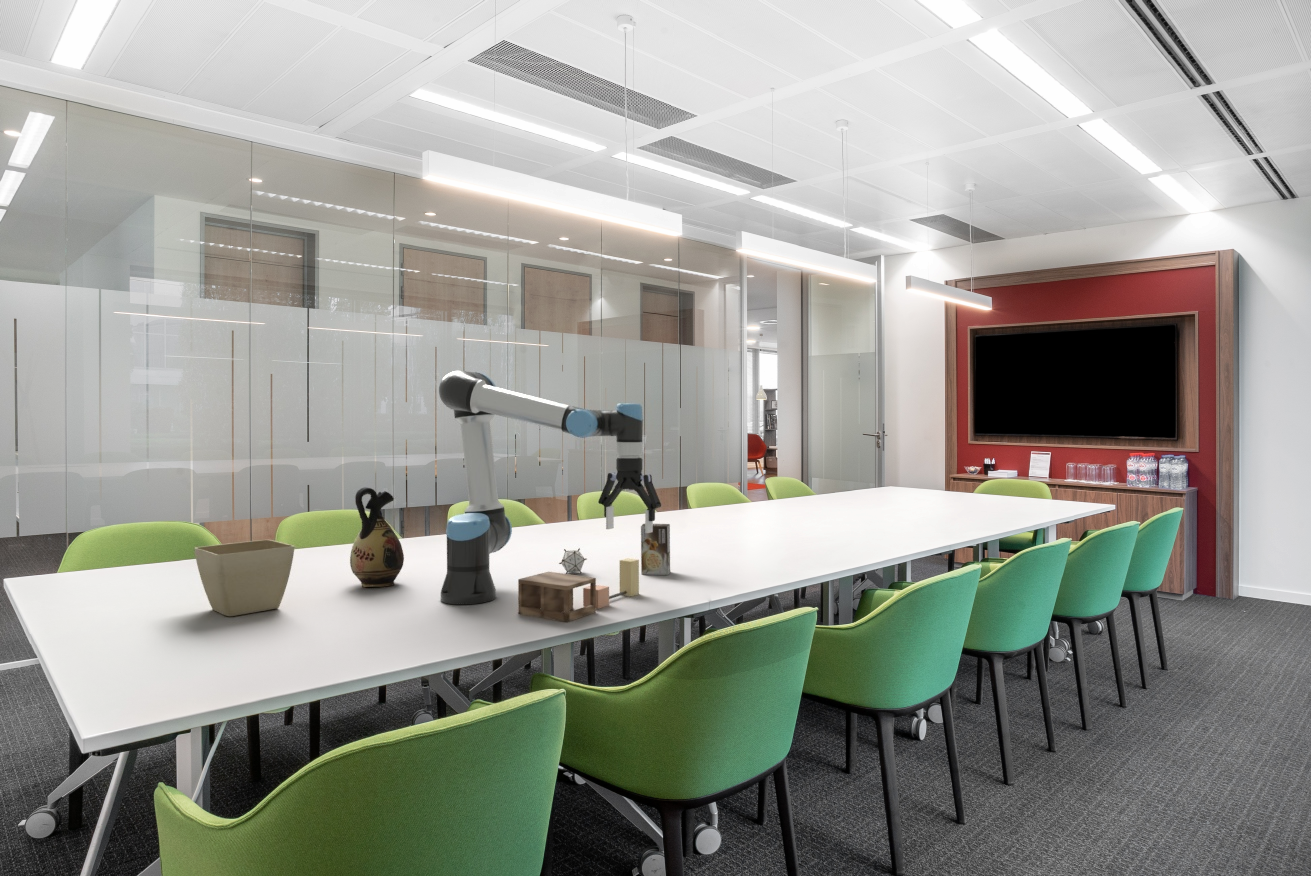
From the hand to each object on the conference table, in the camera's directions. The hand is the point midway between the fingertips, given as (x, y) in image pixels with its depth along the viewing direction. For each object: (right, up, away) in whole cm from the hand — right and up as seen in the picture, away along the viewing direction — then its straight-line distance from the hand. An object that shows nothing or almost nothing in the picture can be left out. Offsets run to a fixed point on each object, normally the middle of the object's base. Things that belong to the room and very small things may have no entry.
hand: (629, 530), depth 222 cm
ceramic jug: (-78, -18, +12) cm, 81 cm away
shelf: (-18, -19, -21) cm, 34 cm away
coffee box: (+8, -18, +32) cm, 37 cm away
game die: (-20, -18, +31) cm, 41 cm away
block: (-4, -19, -7) cm, 20 cm away
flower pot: (-101, -19, -18) cm, 105 cm away
